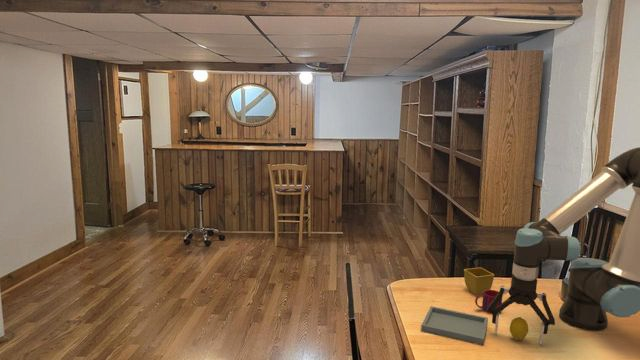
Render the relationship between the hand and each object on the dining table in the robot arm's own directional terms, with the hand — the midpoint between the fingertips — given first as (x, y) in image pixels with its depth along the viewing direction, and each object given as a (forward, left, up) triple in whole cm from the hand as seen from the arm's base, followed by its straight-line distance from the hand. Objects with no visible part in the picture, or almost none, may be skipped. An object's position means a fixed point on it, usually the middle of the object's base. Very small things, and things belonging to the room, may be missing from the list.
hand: (517, 337), depth 149 cm
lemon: (0, 0, -1) cm, 1 cm away
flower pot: (+16, -33, -1) cm, 37 cm away
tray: (+20, +1, -1) cm, 20 cm away
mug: (+11, -18, -1) cm, 21 cm away
